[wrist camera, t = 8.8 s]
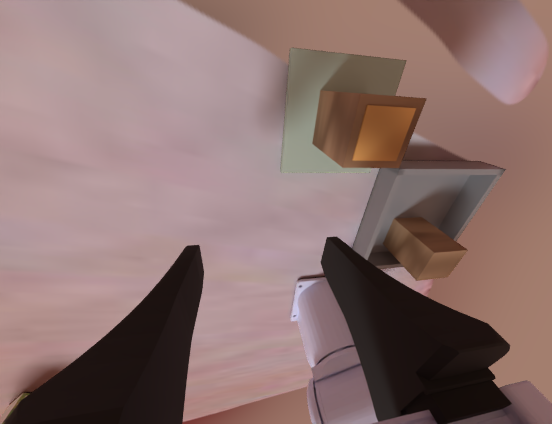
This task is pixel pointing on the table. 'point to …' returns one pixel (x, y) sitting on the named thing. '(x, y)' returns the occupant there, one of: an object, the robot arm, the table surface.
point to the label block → (365, 128)
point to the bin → (423, 201)
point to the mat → (305, 97)
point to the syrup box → (12, 408)
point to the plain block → (423, 248)
